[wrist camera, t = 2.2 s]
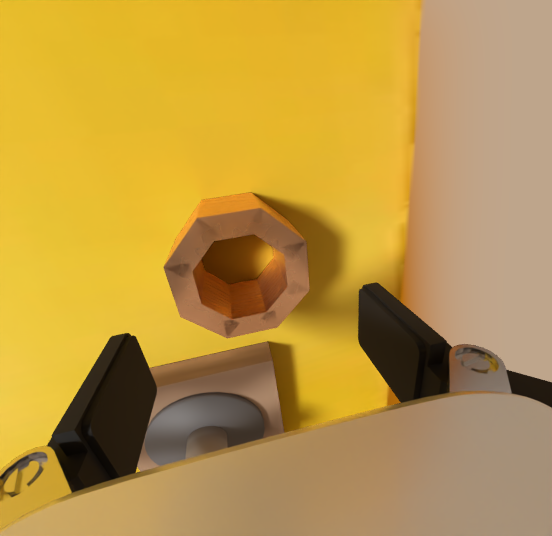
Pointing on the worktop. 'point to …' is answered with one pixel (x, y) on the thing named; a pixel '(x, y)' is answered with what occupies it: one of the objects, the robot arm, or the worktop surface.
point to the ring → (243, 295)
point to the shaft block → (211, 405)
